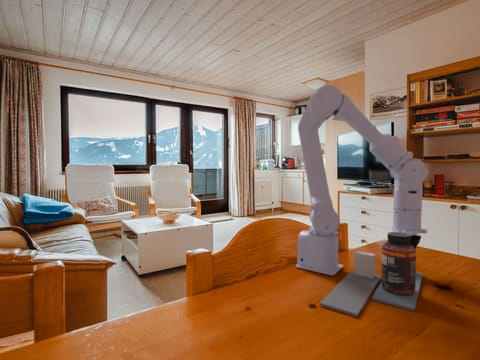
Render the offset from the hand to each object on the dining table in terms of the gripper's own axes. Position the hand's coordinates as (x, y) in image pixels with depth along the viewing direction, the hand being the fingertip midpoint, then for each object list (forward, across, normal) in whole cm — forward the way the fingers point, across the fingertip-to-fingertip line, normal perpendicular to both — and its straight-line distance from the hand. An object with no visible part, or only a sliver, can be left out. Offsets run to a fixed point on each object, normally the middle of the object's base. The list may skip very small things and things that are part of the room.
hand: (405, 266), depth 66 cm
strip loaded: (+2, -9, 0) cm, 9 cm away
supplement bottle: (+2, -13, 0) cm, 13 cm away
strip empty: (+2, -17, +7) cm, 19 cm away
